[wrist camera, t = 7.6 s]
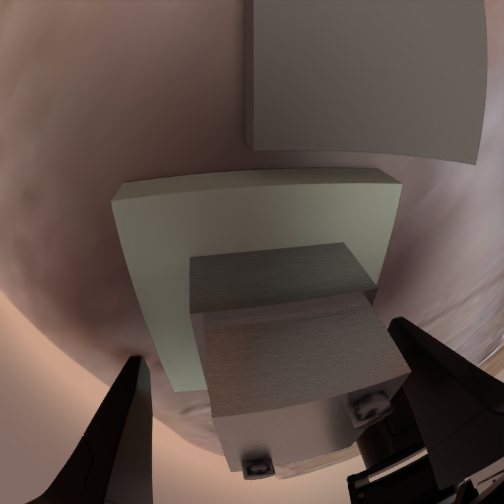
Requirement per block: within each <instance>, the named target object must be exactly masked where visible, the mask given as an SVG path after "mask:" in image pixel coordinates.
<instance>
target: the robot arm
mask: <svg viewBox="0 0 504 504" xmlns="http://www.w3.org/2000/svg"><path fill="white" fill-rule="evenodd" d="M387 331H388V333H389V334H390V336H391V338H392V339H393V341H394V342H395V344H396V346H397V347H398V349H399V351H400V352H401V354H402V356H403V358H404V359H405V361H406V363H407V364H408V366H409V368H410V370H411V371H412V372H411V373H410V374H409V376H408V377H407V379H406V380H405V381H404V383H403V384H402V386H401V387H400V388H399V390H398V391H397V392H396V394H395V395H394V396H393V397H392V399H391V400H390V402H391V404H392V406H393V408H394V410H393V411H392V413H391V414H389V415H388V416H387V417H386V418H384V419H382V420H381V421H379V422H377V423H375V424H373V425H370V426H369V427H368V428H367V429H366V430H365V431H364V432H363V433H362V434H361V435H360V437H359V438H358V439H357V440H356V442H357V445H358V447H359V450H360V453H361V455H362V458H363V461H364V463H365V466H366V469H367V470H365V471H362V472H360V473H358V474H353V475H350V476H348V477H347V482H348V489H349V495H350V500H351V504H504V383H503V382H501V381H500V380H498V379H496V378H494V377H493V376H491V375H489V374H488V373H486V372H484V371H483V370H481V369H480V368H478V367H477V366H475V365H474V364H472V363H471V362H469V361H468V360H466V359H465V358H463V357H462V356H461V355H459V354H458V353H456V352H455V351H453V350H452V349H450V348H449V347H447V346H446V345H444V344H443V343H441V342H440V341H438V340H437V339H435V338H434V337H432V336H431V335H429V334H428V333H426V332H425V331H423V330H422V329H420V328H419V327H417V326H416V325H414V324H413V323H411V322H410V321H408V320H407V319H405V318H404V317H397V318H394V319H392V321H391V323H390V325H389V327H388V329H387ZM152 419H153V412H152V398H151V383H150V371H149V368H148V366H147V364H146V362H145V360H144V358H143V356H141V355H133V356H130V357H129V359H128V360H127V362H126V364H125V365H124V367H123V368H122V370H121V372H120V373H119V375H118V377H117V378H116V380H115V382H114V383H113V385H112V386H111V388H110V390H109V391H108V393H107V395H106V397H105V398H104V400H103V402H102V403H101V405H100V407H99V409H98V410H97V412H96V414H95V415H94V417H93V419H92V420H91V422H90V424H89V426H88V427H87V429H86V431H85V433H84V436H82V438H81V440H80V442H79V443H78V445H77V447H76V448H75V450H74V452H73V453H72V455H71V457H70V458H69V459H68V461H67V462H66V464H65V465H64V467H63V468H62V470H61V471H60V472H59V474H58V475H57V477H56V478H55V479H54V481H53V482H52V484H51V485H50V486H49V488H48V489H47V490H46V491H45V492H44V493H43V494H42V495H41V496H39V497H38V498H36V499H34V500H32V501H30V502H28V503H26V504H153V494H152ZM426 449H427V452H428V454H426V455H424V456H423V457H421V458H419V459H417V460H416V461H414V462H412V463H410V464H408V465H406V466H404V467H402V468H400V469H398V470H396V471H394V472H392V473H390V474H388V475H386V476H384V477H381V478H379V479H377V480H375V481H372V482H370V481H369V478H371V477H374V476H376V475H378V474H380V473H382V472H385V471H387V470H389V469H391V468H393V467H395V466H397V465H399V464H401V463H403V462H405V461H407V460H408V459H410V458H412V457H414V456H416V455H418V454H419V453H421V452H423V451H425V450H426ZM467 477H470V478H469V479H468V480H467V481H465V480H464V479H465V478H467Z"/></svg>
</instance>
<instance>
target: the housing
mask: <svg viewBox="0 0 504 504" xmlns="http://www.w3.org/2000/svg"><path fill="white" fill-rule="evenodd" d="M377 290H378V287H377V286H376V285H375V283H374V282H373V280H372V279H371V278H370V276H369V275H368V274H367V272H366V271H365V270H364V268H363V267H362V266H361V264H360V263H359V262H358V260H357V259H356V258H355V256H354V255H353V254H352V252H351V251H350V250H349V249H348V247H347V246H346V245H345V243H344V242H341V243H331V244H321V245H310V246H300V247H290V248H279V249H269V250H259V251H249V252H238V253H228V254H218V255H207V256H197V257H190V267H189V310H190V318H191V323H192V328H193V332H194V336H195V341H196V345H197V349H198V353H199V357H200V362H201V366H202V370H203V373H204V377H205V381H206V385H207V389H208V392H209V396H210V403H211V412H212V419H213V422H214V425H215V428H216V431H217V434H218V437H219V440H220V443H221V446H222V449H223V452H224V454H225V457H226V460H227V463H228V465H229V468H230V471H231V472H237V471H243V476H244V479H245V480H256V479H263V478H267V477H270V476H273V475H275V470H274V466H277V465H282V464H287V463H291V462H296V461H300V460H305V459H309V458H313V457H317V456H320V455H324V454H328V453H331V452H334V451H338V450H341V449H344V448H347V447H350V446H351V445H352V444H353V443H354V442H355V441H356V440H357V439H358V438H359V437H360V435H361V434H362V433H363V432H364V431H365V430H366V429H367V428H368V427H369V426H370V425H373V424H375V423H377V422H379V421H381V420H382V419H384V418H386V417H387V416H388V415H389V414H391V413H392V411H393V410H394V408H393V406H392V404H391V402H390V400H391V399H392V397H393V396H394V395H395V394H396V392H397V391H398V390H399V388H400V387H401V386H402V384H403V383H404V381H405V380H406V379H407V377H408V376H409V374H410V373H411V372H412V371H411V370H410V368H409V366H408V364H407V363H406V361H405V359H404V358H403V356H402V354H401V352H400V351H399V349H398V347H397V346H396V344H395V342H394V341H393V339H392V338H391V336H390V334H389V333H388V331H387V329H386V328H385V326H384V325H383V323H382V321H381V320H380V318H379V317H378V315H377V313H376V312H375V310H374V309H373V307H372V304H373V302H374V299H375V296H376V293H377Z"/></svg>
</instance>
